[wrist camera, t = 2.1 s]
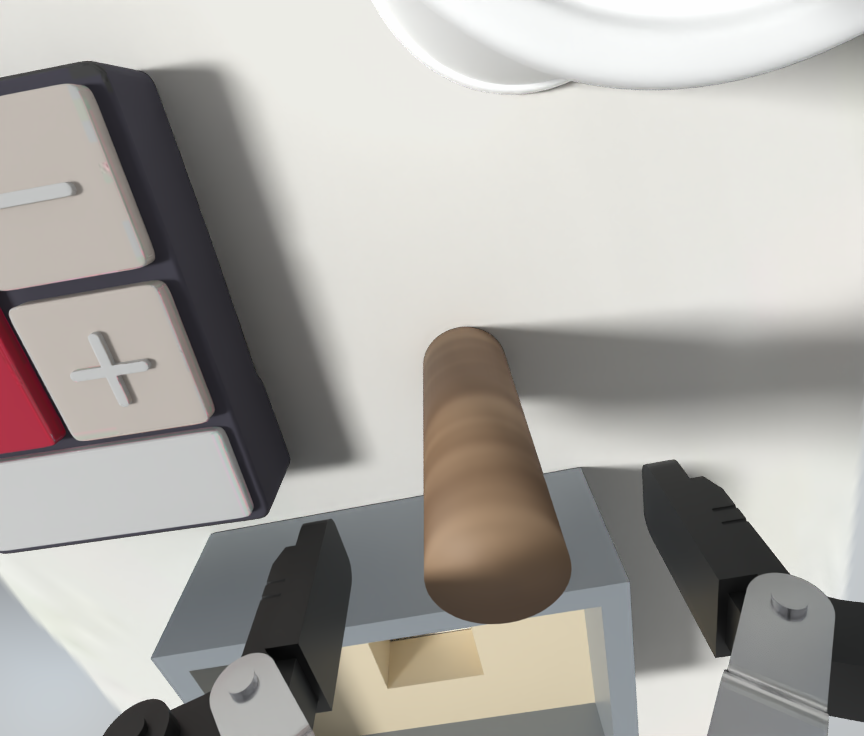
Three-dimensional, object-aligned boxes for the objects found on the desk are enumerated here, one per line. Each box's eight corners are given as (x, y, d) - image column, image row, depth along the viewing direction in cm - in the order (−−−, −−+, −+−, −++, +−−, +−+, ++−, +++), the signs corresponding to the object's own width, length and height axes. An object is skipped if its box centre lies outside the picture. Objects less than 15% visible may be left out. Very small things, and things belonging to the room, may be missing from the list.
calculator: (81, 51, 12) (266, 533, 19) (164, 70, 16) (294, 463, 22) (-332, 134, 13) (-21, 572, 19) (-158, 133, 17) (55, 498, 23)
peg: (414, 336, 20) (408, 534, 11) (498, 319, 19) (564, 508, 10) (432, 407, 21) (440, 633, 12) (511, 391, 21) (577, 611, 12)
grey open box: (210, 533, 24) (150, 658, 19) (580, 467, 23) (629, 581, 17) (308, 707, 30) (284, 836, 25) (601, 663, 29) (641, 791, 24)
